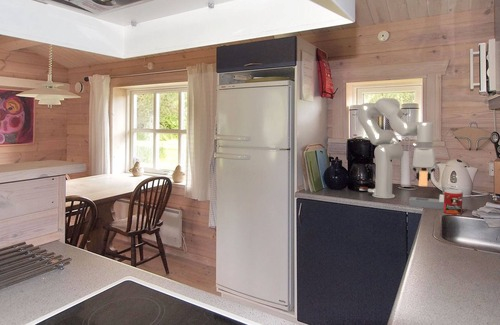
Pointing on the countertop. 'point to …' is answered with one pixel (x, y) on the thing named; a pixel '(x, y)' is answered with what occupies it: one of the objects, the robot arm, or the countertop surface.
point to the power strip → (427, 202)
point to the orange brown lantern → (423, 177)
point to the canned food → (453, 201)
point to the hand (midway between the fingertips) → (423, 180)
